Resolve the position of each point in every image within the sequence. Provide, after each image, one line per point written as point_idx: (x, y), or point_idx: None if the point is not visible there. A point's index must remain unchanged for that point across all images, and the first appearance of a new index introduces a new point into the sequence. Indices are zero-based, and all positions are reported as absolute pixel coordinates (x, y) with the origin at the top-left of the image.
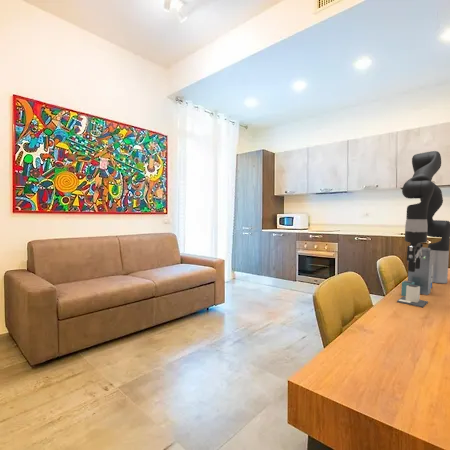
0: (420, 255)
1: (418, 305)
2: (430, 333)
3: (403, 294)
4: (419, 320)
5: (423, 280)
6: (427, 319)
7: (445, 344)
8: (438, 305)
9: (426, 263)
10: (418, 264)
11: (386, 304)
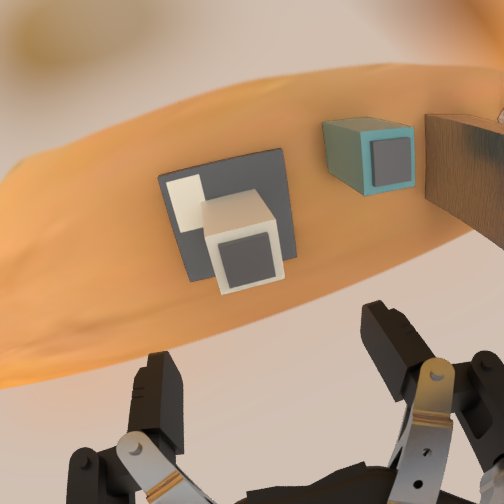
0: (390, 461)
1: (185, 266)
2: (11, 366)
3: (327, 133)
4: (45, 329)
5: (472, 204)
6: (76, 337)
7: (5, 388)
8: (290, 290)
9: None
10: (379, 359)
11: (72, 177)
